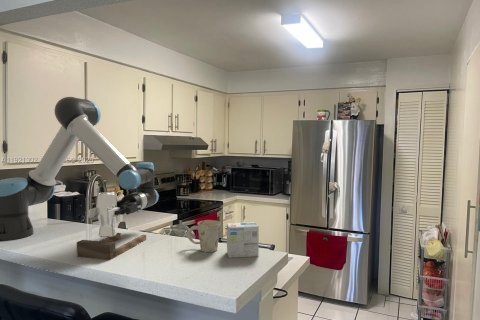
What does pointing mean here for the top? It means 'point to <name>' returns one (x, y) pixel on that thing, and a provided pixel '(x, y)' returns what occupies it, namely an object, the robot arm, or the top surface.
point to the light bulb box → (242, 239)
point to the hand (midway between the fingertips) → (98, 214)
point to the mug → (206, 235)
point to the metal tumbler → (104, 204)
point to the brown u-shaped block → (105, 247)
